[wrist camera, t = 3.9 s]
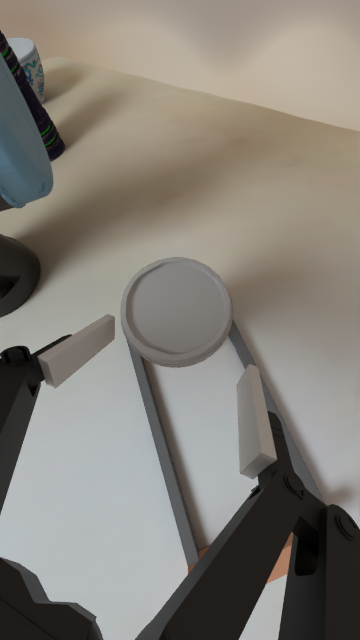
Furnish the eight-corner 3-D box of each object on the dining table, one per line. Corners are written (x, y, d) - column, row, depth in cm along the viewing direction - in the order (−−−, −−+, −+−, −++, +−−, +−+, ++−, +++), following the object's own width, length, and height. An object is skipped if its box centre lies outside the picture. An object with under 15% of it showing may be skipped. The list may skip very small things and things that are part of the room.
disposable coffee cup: (210, 303, 25) (227, 248, 14) (217, 366, 22) (246, 364, 11) (150, 307, 25) (118, 256, 14) (149, 369, 23) (109, 370, 11)
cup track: (124, 322, 25) (115, 316, 22) (215, 289, 26) (218, 279, 23) (197, 588, 16) (198, 635, 13) (331, 524, 17) (360, 556, 14)
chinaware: (68, 91, 47) (46, 39, 40) (37, 120, 43) (6, 69, 36) (29, 85, 49) (1, 35, 42) (-3, 112, 46) (-40, 63, 38)
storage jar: (59, 163, 37) (-22, 36, 23) (20, 165, 38) (-82, 42, 24) (69, 137, 40) (4, 9, 26) (33, 138, 41) (-51, 15, 27)
